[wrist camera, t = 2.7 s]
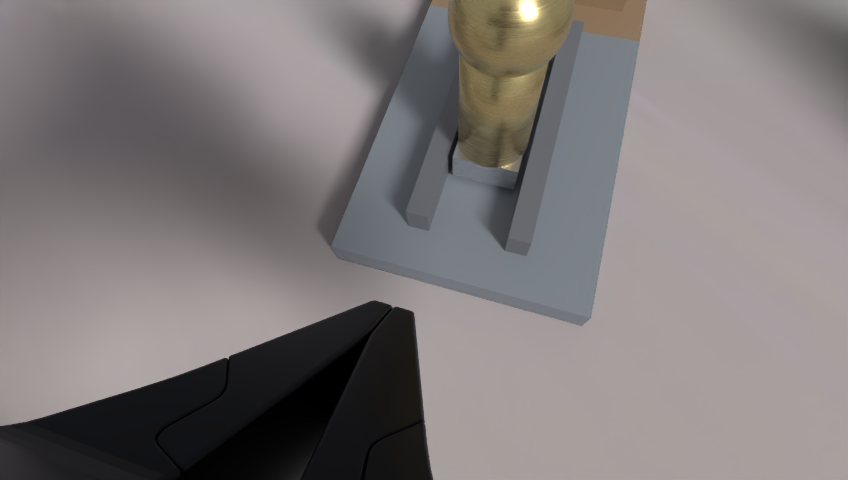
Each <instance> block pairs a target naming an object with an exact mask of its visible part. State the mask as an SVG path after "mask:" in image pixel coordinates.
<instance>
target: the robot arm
mask: <svg viewBox="0 0 848 480" xmlns="http://www.w3.org/2000/svg"><path fill="white" fill-rule="evenodd" d="M424 423H425V421H424V410H423V400H422V390H421V379H420V369H419V359H418V348H417V338H416V328H415V317H414V313H413V312H412V311H410V310H406V309H403V308H399V307H394V308H393V307H392V306H391V305H389V304H385V303H382V302H378V301H370V302H368V303H365V304H363V305H360V306H358V307H355V308H352V309H350V310H347V311H345V312H342V313H339V314H337V315H334V316H332V317H329V318H327V319H324V320H321V321H319V322H316V323H314V324H311V325H309V326H306V327H303V328H301V329H298V330H296V331H293V332H291V333H288V334H285V335H283V336H280V337H278V338H275V339H273V340H270V341H267V342H265V343H262V344H260V345H257V346H255V347H252V348H249V349H247V350H244V351H242V352H239V353H236V354H234V355H231V356H230V357H229V359H227V358H223V359H221V360H218V361H216V362H213V363H210V364H208V365H205V366H202V367H200V368H197V369H194V370H191V371H189V372H186V373H183V374H180V375H178V376H175V377H172V378H169V379H166V380H163V381H160V382H157V383H153V384H150V385H147V386H144V387H141V388H138V389H135V390H131V391H128V392H125V393H122V394H118V395H115V396H112V397H108V398H105V399H102V400H99V401H95V402H92V403H89V404H85V405H82V406H79V407H76V408H72V409H69V410H66V411H62V412H59V413H56V414H53V415H49V416H46V417H42V418H39V419H35V420H31V421H28V422H23V423H17V424H12V425H5V426H0V480H433V476H432V472H431V467H430V460H429V453H428V446H427V438H426V428H425V424H424Z"/></svg>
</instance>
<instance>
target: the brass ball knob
mask: <svg viewBox="0 0 848 480" xmlns="http://www.w3.org/2000/svg"><path fill="white" fill-rule="evenodd" d="M574 5H575V1H574V0H449V3H448V26H449V30H450V34H451V38H452V41H453V43H454V45H455V47H456V49H457V51H458V52H459V107H458V142H457V145H456V149H455V152H454V155H453V176H456V177H460V178H465V179H469V180H473V181H477V182H482V183H486V184H490V185H494V186H499V187H503V188H507V189H511V190H514V187H515V183H516V180H517V176H518V172H519V168H520V165H521V161H522V157H523V154H524V152H525V150H526V148H527V146H528V142H529V138H530V134H531V130H532V126H533V122H534V118H535V114H536V110H537V107H538V103H539V99H540V95H541V91H542V87H543V83H544V79H545V75H546V71H547V67H548V63H549V61H550V60H551V59H552V58H553V57H554V56H555V54H556V53H557V52H558V51H559V49H560V48H561V47H562V45H563V43H564V41H565V39H566V38H567V36H568V33H569V30H570V28H571V25H572V21H573V15H574Z"/></svg>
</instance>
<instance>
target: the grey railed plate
mask: <svg viewBox="0 0 848 480" xmlns="http://www.w3.org/2000/svg"><path fill="white" fill-rule="evenodd" d="M574 1H575V5H574V15H573V21H572V25H571V28H570V30H569V33H568V36H567V38H566V39H565V41H564V43H563V45H562V47H561V48H560V49H559V51H558V52H557V53H556V54H555V56H554V57H553V58H552V59H551V60H550V61H549V63H548V67H547V71H546V75H545V79H544V83H543V87H542V91H541V95H540V99H539V103H538V107H537V110H536V114H535V118H534V122H533V126H532V130H531V134H530V138H529V142H528V146H527V148H526V150H525V152H524V154H523V157H522V161H521V165H520V168H519V172H518V176H517V180H516V183H515V187H514V190H511V189H507V188H503V187H499V186H494V185H490V184H486V183H482V182H477V181H473V180H469V179H465V178H460V177H456V176H453V155H454V152H455V149H456V145H457V142H458V107H459V52H458V51H457V49H456V47H455V45H454V43H453V41H452V38H451V34H450V30H449V26H448V3H449V0H432V2H431V4H430V7H429V9H428V11H427V14H426V16H425V19H424V21H423V24H422V26H421V28H420V31H419V33H418V36H417V38H416V41H415V43H414V45H413V48H412V50H411V53H410V55H409V58H408V60H407V62H406V65H405V67H404V70H403V72H402V75H401V77H400V79H399V82H398V84H397V87H396V89H395V92H394V94H393V96H392V99H391V101H390V104H389V106H388V109H387V111H386V113H385V116H384V118H383V121H382V123H381V126H380V128H379V130H378V133H377V135H376V138H375V140H374V143H373V145H372V147H371V150H370V152H369V155H368V157H367V160H366V162H365V165H364V167H363V169H362V172H361V174H360V177H359V179H358V182H357V184H356V186H355V189H354V191H353V194H352V196H351V199H350V201H349V203H348V206H347V208H346V211H345V213H344V216H343V218H342V220H341V223H340V225H339V228H338V230H337V233H336V235H335V237H334V240H333V242H332V245H331V248H332V249H333V251H334V252H335V254H336V255H337V257H338V258H340V259H344V260H347V261H351V262H355V263H358V264H362V265H365V266H369V267H372V268H376V269H380V270H383V271H387V272H390V273H394V274H398V275H401V276H405V277H408V278H412V279H416V280H419V281H423V282H426V283H430V284H434V285H437V286H441V287H444V288H448V289H452V290H455V291H459V292H462V293H466V294H469V295H473V296H477V297H480V298H484V299H487V300H491V301H495V302H498V303H502V304H505V305H509V306H513V307H516V308H520V309H523V310H527V311H531V312H534V313H538V314H541V315H545V316H548V317H552V318H556V319H559V320H563V321H566V322H570V323H574V324H577V325H581V326H582V325H583V324H584V323H586V322H587V321H588V320H589V319H590V318H591V314H592V309H593V303H594V297H595V292H596V286H597V280H598V275H599V269H600V263H601V257H602V252H603V246H604V240H605V235H606V229H607V223H608V218H609V212H610V206H611V201H612V195H613V189H614V184H615V178H616V172H617V167H618V161H619V155H620V150H621V144H622V138H623V132H624V127H625V121H626V115H627V110H628V104H629V98H630V93H631V87H632V81H633V76H634V70H635V64H636V59H637V53H638V47H639V42H640V36H641V30H642V24H643V19H644V13H645V7H646V2H647V0H574Z"/></svg>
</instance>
